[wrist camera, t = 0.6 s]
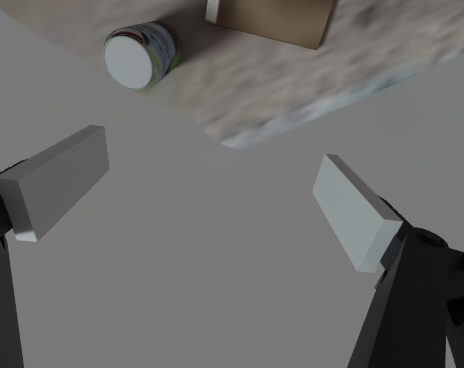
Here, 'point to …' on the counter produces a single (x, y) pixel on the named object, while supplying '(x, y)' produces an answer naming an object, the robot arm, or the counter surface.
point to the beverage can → (141, 55)
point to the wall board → (273, 18)
